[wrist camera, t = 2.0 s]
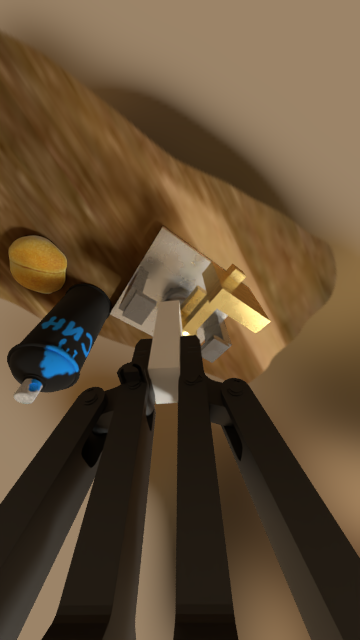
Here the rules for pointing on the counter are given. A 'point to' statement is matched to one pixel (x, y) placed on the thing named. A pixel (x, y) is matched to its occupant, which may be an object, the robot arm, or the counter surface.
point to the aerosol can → (59, 343)
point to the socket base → (169, 275)
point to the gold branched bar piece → (222, 301)
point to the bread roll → (37, 264)
